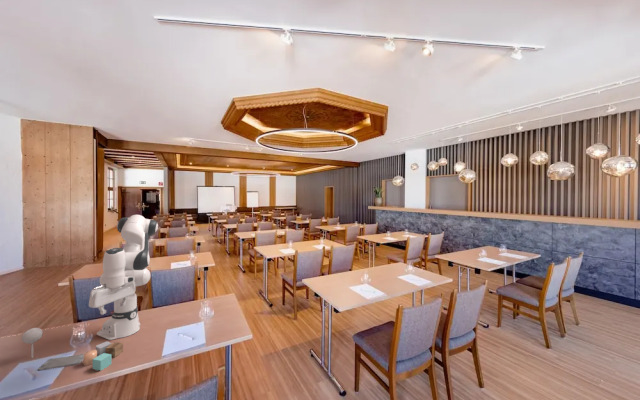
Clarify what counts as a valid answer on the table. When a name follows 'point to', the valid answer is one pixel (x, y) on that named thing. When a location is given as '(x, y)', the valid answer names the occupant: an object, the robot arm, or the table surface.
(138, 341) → the table surface
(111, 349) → the walnut cube
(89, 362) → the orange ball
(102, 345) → the slate cube
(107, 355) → the teal cube
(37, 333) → the lollipop
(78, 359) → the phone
